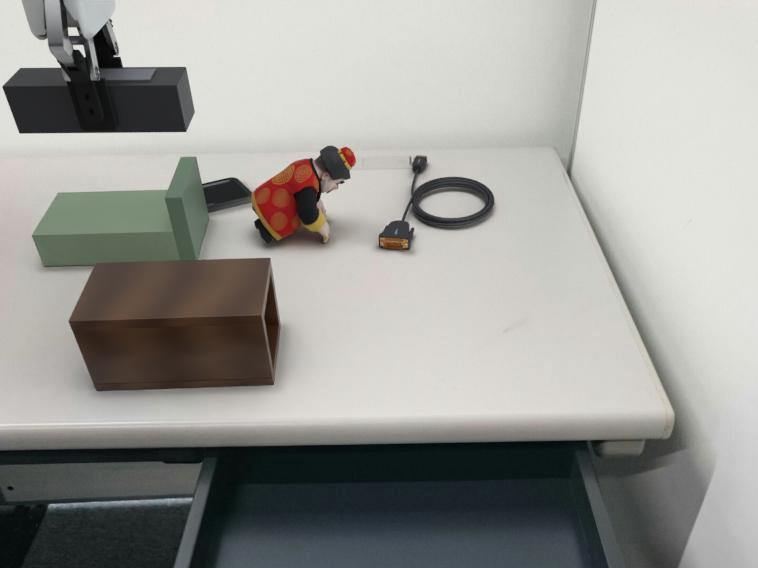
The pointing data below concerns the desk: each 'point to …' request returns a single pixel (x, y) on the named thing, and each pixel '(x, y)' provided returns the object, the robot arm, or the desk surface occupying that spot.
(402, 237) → the cable
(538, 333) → the desk surface
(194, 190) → the green l-shaped block
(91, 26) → the robot arm
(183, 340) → the shelf
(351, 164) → the figurine
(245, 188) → the phone
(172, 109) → the black rectangular box
